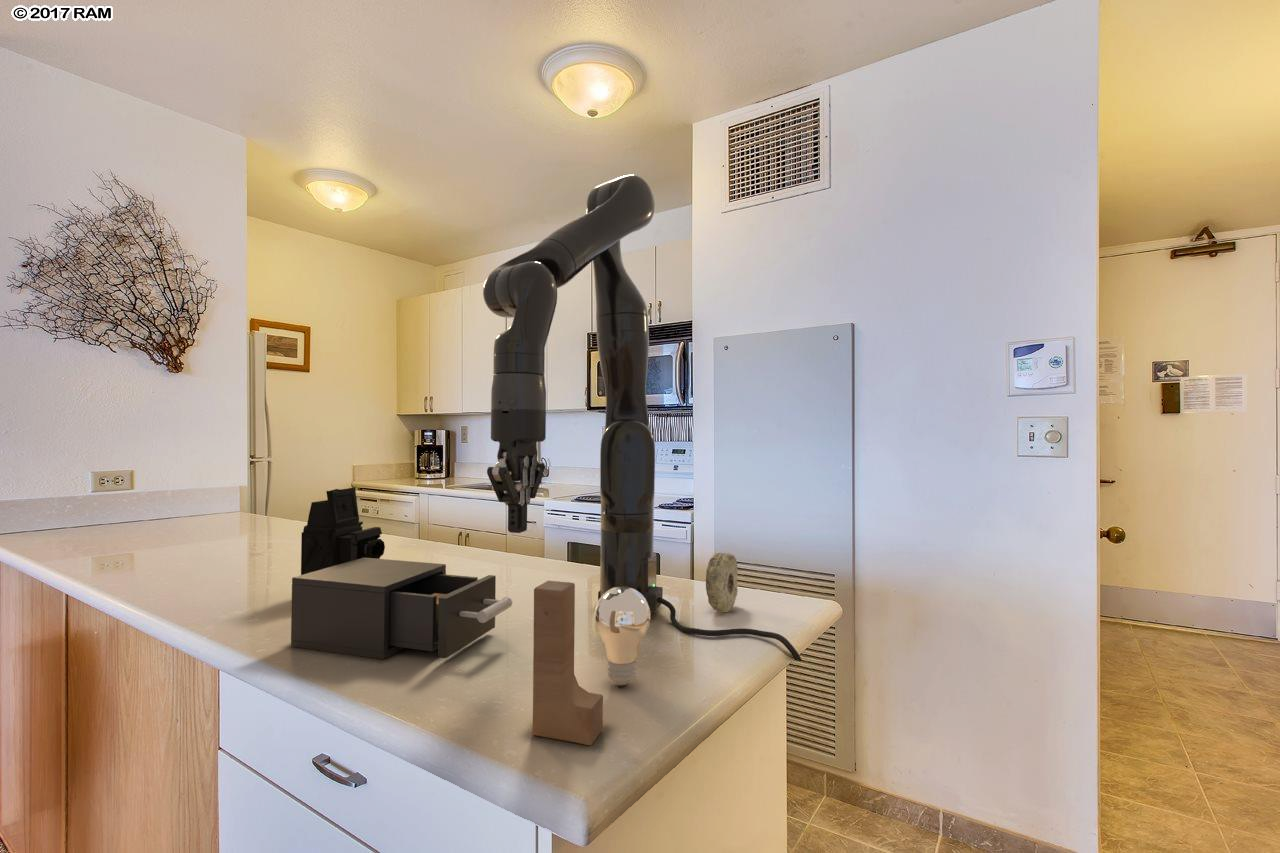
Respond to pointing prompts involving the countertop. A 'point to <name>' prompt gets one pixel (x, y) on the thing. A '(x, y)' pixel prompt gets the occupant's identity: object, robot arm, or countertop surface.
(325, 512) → the camera
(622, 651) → the light bulb
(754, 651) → the countertop surface
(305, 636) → the dark drawer cabinet
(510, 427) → the robot arm
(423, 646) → the pull-out drawer
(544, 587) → the wooden block
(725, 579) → the stone ring
